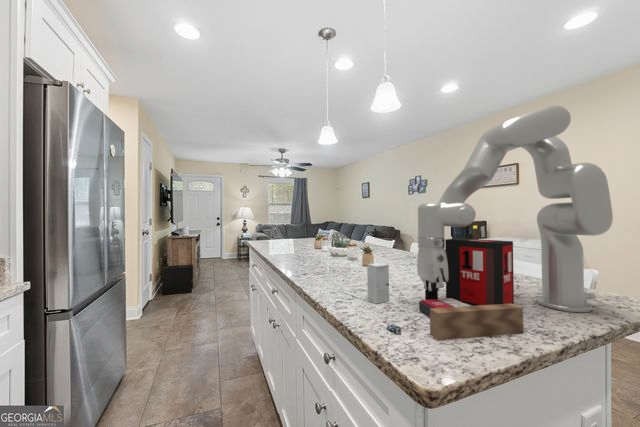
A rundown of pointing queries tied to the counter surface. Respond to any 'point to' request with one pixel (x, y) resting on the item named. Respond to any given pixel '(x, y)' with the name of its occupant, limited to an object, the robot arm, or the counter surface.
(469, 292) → the cleaning product box
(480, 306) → the walnut board
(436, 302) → the calculator
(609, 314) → the counter surface
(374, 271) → the skincare box
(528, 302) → the counter surface
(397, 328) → the blueberries
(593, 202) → the robot arm
